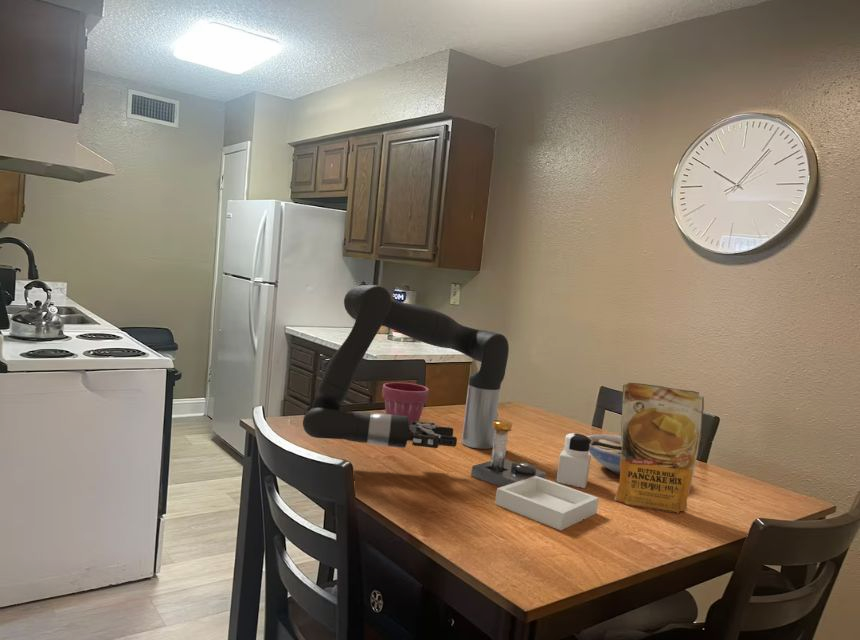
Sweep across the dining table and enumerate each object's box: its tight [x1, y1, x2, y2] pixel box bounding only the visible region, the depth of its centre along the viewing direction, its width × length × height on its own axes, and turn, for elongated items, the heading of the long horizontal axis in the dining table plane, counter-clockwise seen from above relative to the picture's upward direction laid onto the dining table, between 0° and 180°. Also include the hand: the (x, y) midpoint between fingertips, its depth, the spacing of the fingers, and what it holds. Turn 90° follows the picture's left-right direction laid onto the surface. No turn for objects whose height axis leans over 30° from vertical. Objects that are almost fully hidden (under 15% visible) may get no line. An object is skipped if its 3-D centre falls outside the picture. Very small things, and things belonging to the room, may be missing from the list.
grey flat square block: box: [470, 458, 547, 488], centre depth 150 cm, size 13×13×4 cm
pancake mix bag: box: [613, 382, 705, 514], centre depth 143 cm, size 7×19×28 cm, turn 81°
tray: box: [494, 476, 600, 531], centre depth 133 cm, size 16×16×4 cm
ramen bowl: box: [586, 434, 622, 475], centre depth 168 cm, size 25×23×8 cm
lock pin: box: [490, 419, 513, 472], centre depth 150 cm, size 5×5×14 cm
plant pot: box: [381, 381, 430, 425], centre depth 189 cm, size 14×14×13 cm
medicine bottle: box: [555, 432, 592, 489], centre depth 154 cm, size 7×7×12 cm
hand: (454, 437), depth 148 cm, fingers open, 8 cm apart
